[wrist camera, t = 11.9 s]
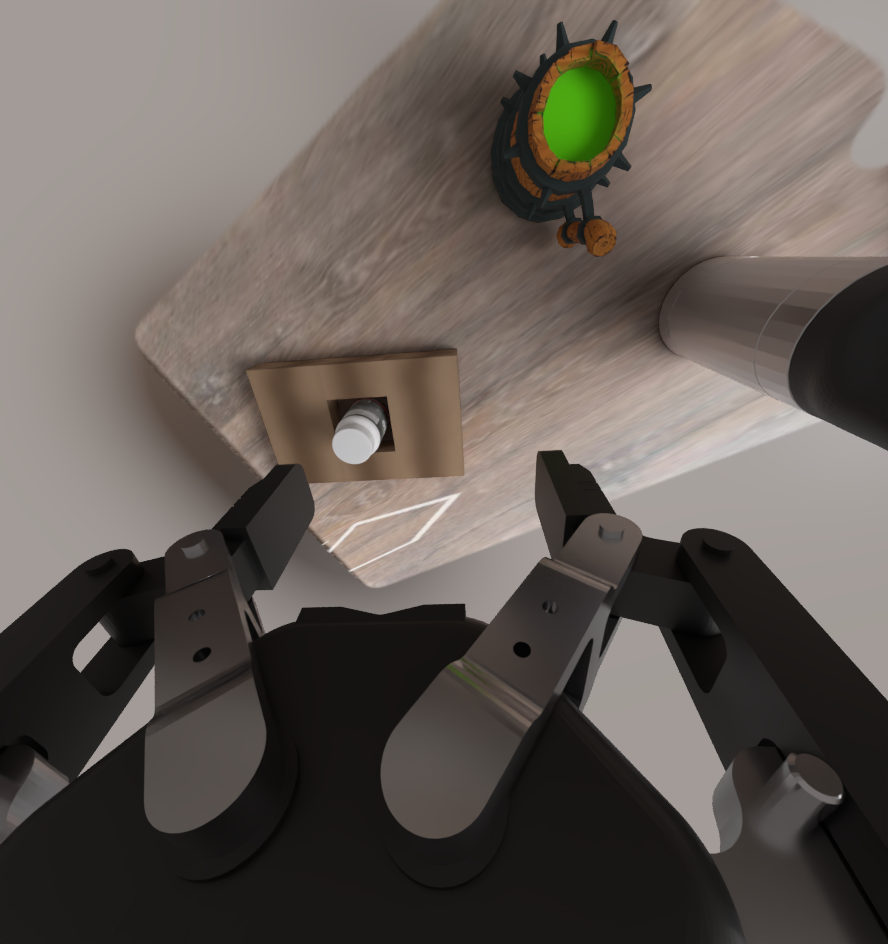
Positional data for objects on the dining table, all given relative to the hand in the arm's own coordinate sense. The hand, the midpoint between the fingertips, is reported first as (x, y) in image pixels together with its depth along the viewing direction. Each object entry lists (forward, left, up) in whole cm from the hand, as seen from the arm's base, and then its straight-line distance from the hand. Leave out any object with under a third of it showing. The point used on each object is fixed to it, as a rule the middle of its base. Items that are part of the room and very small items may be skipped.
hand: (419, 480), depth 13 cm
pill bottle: (+10, +9, -30) cm, 33 cm away
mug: (-10, -12, -30) cm, 34 cm away
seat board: (+10, +9, -30) cm, 33 cm away
